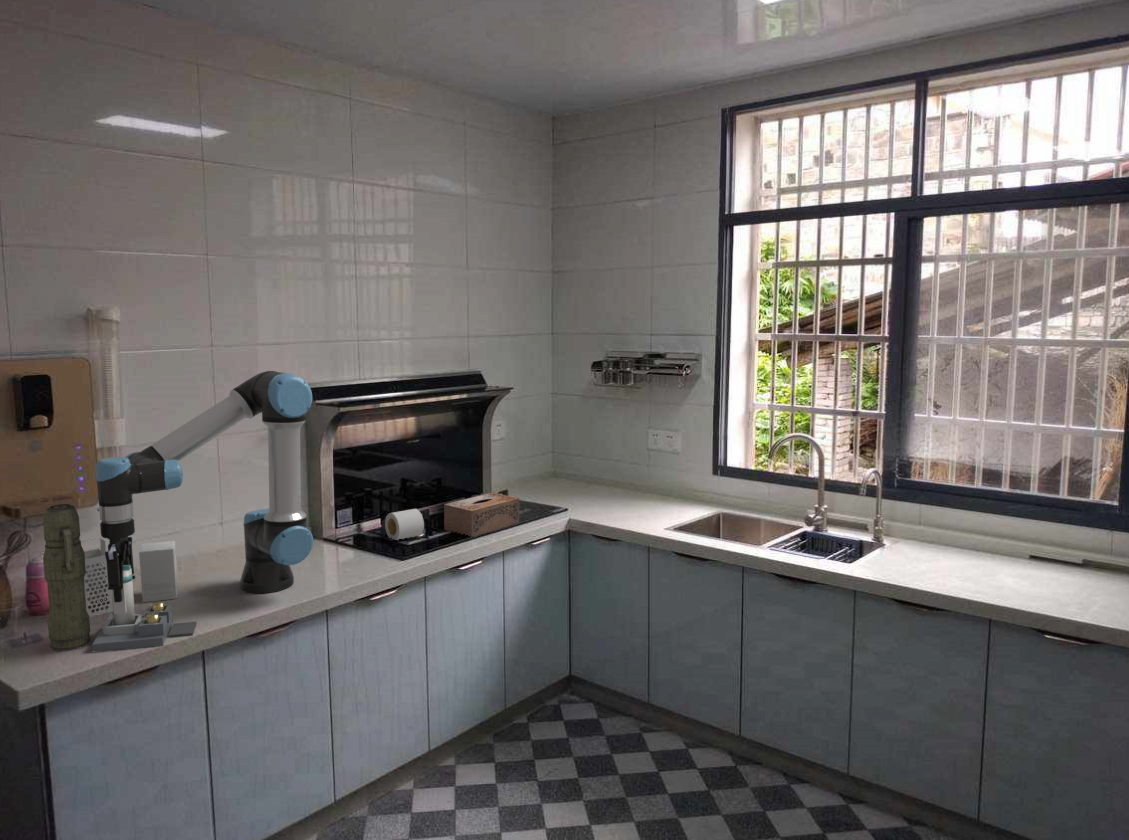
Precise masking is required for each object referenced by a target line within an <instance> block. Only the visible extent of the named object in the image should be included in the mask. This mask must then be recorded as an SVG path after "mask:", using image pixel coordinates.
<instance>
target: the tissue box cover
mask: <svg viewBox="0 0 1129 840" xmlns="http://www.w3.org/2000/svg"><path fill="white" fill-rule="evenodd" d="M443 508H444V509H443V510H444V511H443V512H444V513H443V515H444V518H443V519H444V520H443V521H444V523H443V524H444V527H443V528H444V531H448V532H451V531H453V532H452V533H455V532H457V533H456V534H459V533H460V534H459V535H463V534H465V535H464V536H466V535H468V536H467V537H470V538H472V537H476V536H480V535H483V534H486V533H490V532H493V531H496V530H500V529H504V528H506V527H510V526H514V525H517V524H519V523H520V498H519V497H515V496H511V495H505V494H500V493H495V492H487V493H485V494H480V495H477V496H472V497H468V498H464V499H461V500H460V499H459V500H457V501H452V502H448V503H444V505H443ZM516 523H517V524H516Z"/></svg>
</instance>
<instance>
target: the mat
mask: <svg viewBox="0 0 1129 840" xmlns="http://www.w3.org/2000/svg"><path fill="white" fill-rule="evenodd" d="M197 623H198V622H197V621H186V622H175V623H174V622H173V623H172V625H171V627H170V630H169V632H168V638H179V637H187V636H193V635H194V633H195V629H196V626H197Z"/></svg>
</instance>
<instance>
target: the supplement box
mask: <svg viewBox="0 0 1129 840" xmlns="http://www.w3.org/2000/svg"><path fill="white" fill-rule="evenodd" d="M176 553H177V551H176V541H175V540H169V541H160V542H159V541H158V542H157V541H156V542H147V543H142V544H141V546H140V549H139V552H138V555H139V558H138V559H139V570H140V583H141V594H142V595H141V596H142V597H141V598H142V603H152V602H157V601H167V600H168V601H169V600H175V599H177V597H178V593H179V579H178V565H177V564H178V563H177V554H176Z"/></svg>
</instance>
